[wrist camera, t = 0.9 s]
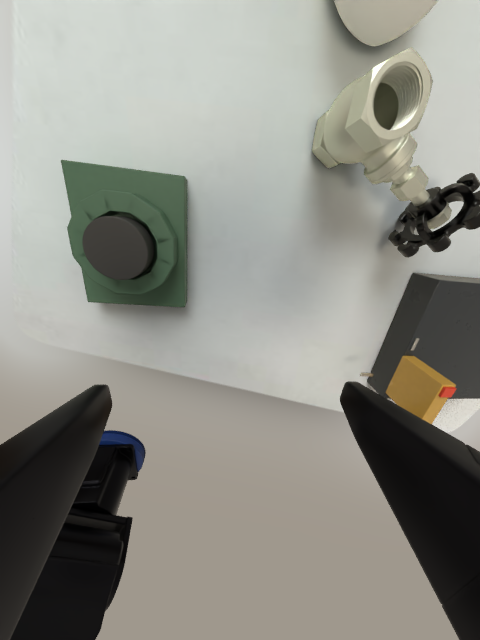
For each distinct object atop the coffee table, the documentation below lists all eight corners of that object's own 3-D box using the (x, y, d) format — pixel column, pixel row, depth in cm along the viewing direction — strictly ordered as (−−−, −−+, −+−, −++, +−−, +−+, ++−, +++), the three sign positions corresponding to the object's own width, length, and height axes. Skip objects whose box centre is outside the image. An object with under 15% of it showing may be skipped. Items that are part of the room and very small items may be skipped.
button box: (187, 300, 21) (182, 315, 18) (97, 295, 20) (75, 310, 17) (187, 179, 17) (181, 171, 14) (74, 165, 16) (41, 152, 13)
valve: (286, 161, 17) (379, 251, 21) (324, 132, 11) (443, 265, 15) (347, 70, 16) (436, 187, 19) (430, -22, 10) (535, 174, 13)
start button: (155, 276, 17) (150, 282, 15) (100, 272, 16) (87, 278, 15) (152, 219, 15) (145, 219, 14) (90, 212, 15) (76, 212, 13)
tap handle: (395, 392, 25) (433, 428, 21) (384, 392, 25) (420, 428, 21) (414, 355, 23) (459, 387, 19) (402, 355, 23) (445, 386, 19)
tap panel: (456, 388, 31) (481, 406, 28) (334, 388, 28) (348, 407, 25) (524, 282, 24) (565, 290, 22) (376, 269, 22) (400, 277, 19)
